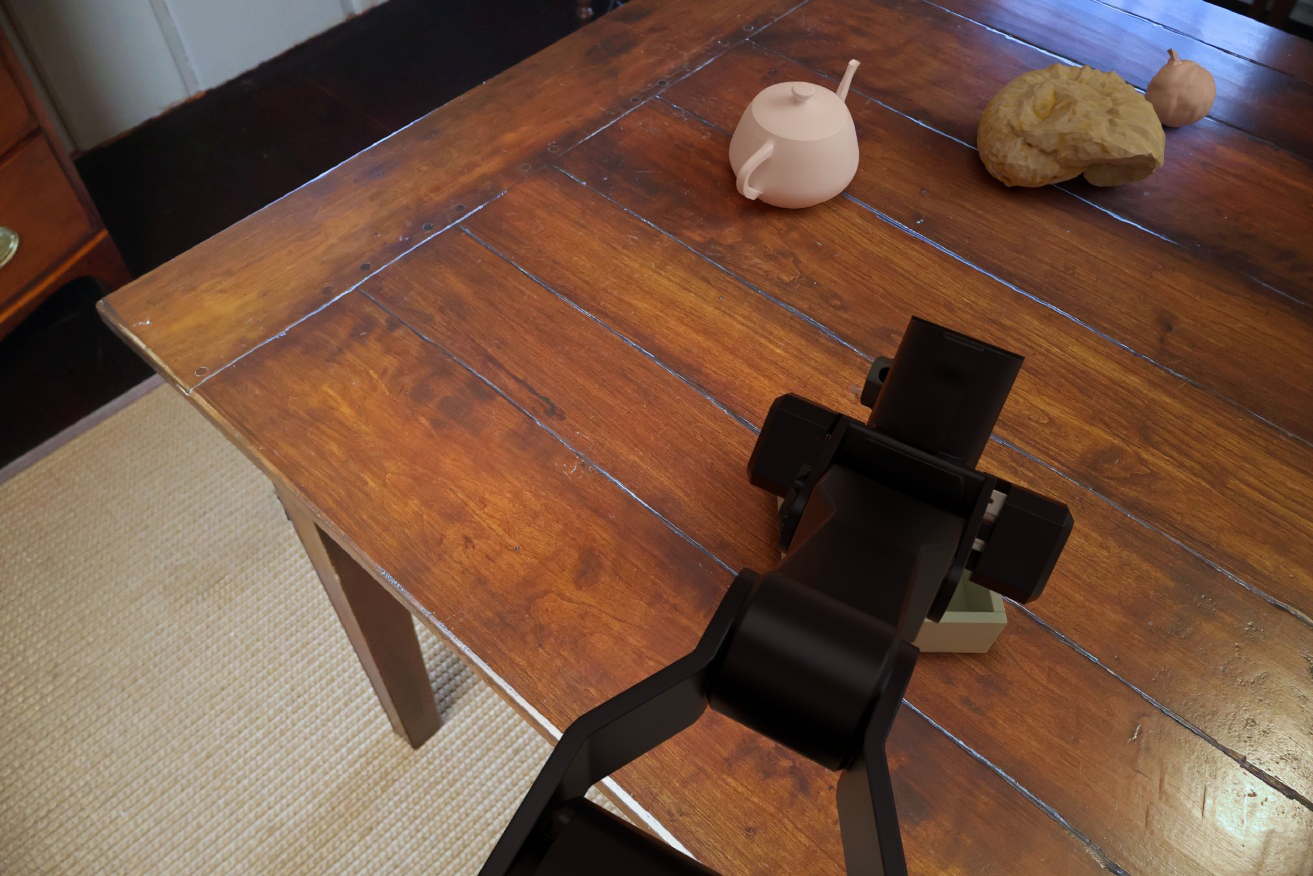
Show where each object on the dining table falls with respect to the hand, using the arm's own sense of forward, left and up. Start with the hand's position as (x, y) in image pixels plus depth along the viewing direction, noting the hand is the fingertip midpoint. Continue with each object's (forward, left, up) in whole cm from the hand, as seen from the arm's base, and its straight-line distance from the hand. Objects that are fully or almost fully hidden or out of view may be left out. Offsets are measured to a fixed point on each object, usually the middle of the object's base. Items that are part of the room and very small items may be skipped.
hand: (912, 476), depth 66 cm
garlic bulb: (+50, -35, -7) cm, 61 cm away
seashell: (+41, -21, -7) cm, 47 cm away
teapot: (+40, +5, -7) cm, 41 cm away
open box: (-2, +2, -7) cm, 7 cm away
